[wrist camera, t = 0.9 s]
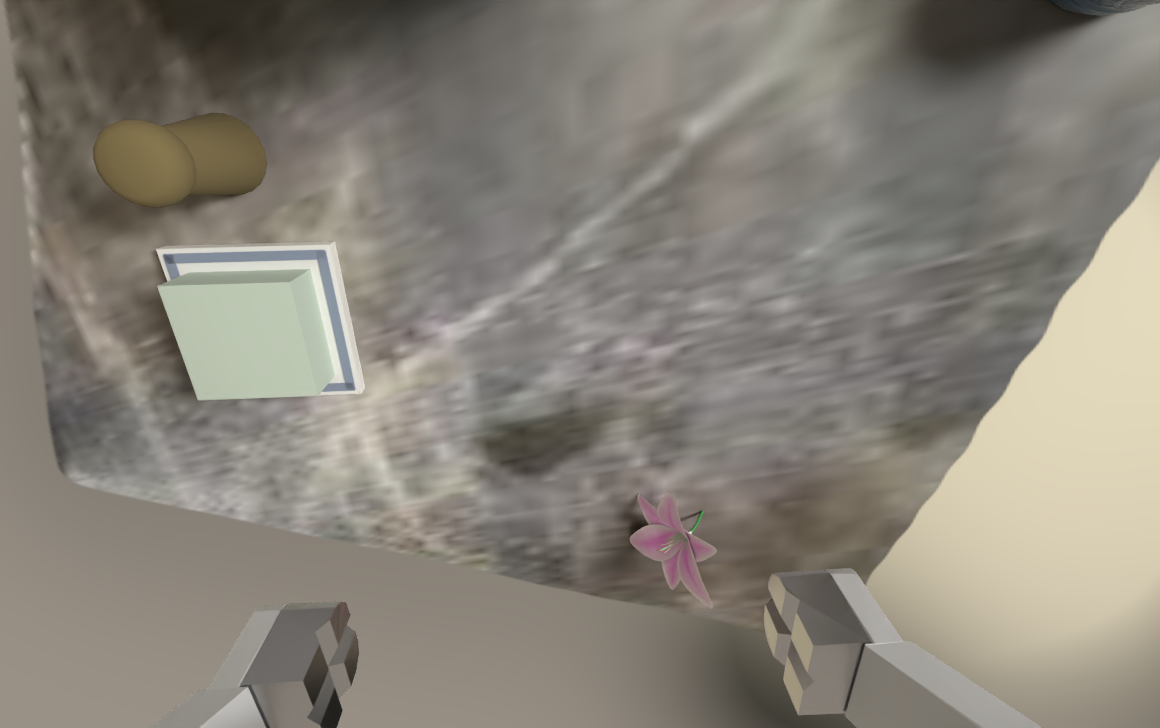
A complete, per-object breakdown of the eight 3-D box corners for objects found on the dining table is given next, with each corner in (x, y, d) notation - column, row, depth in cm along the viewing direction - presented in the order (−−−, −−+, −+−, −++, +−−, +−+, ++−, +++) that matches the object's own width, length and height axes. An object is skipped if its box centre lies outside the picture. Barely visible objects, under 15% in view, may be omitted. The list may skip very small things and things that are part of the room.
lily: (672, 444, 57) (640, 504, 50) (767, 510, 56) (748, 582, 49) (624, 502, 65) (590, 562, 58) (707, 561, 63) (683, 630, 56)
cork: (249, 107, 41) (153, 105, 31) (278, 189, 44) (197, 210, 34) (171, 118, 41) (50, 119, 31) (205, 199, 44) (103, 224, 34)
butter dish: (165, 245, 45) (120, 261, 40) (334, 241, 46) (309, 256, 41) (215, 393, 51) (181, 421, 46) (365, 387, 52) (346, 415, 47)
